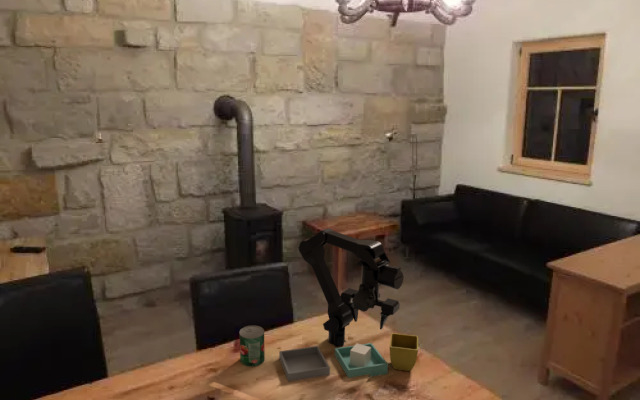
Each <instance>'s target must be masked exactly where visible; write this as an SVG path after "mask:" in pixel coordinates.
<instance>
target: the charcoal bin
mask: <svg viewBox="0 0 640 400" xmlns="http://www.w3.org/2000/svg"><path fill="white" fill-rule="evenodd" d="M278 354H279V355H278V356H279V357H278V358H279V361H280V363H281V366H282V369H283V371H284V374H285V376H286V379H287V381H288V382H292V381H293V382H294V381H299V380H305V379H306V380H307V379H313V378H318V377H319V378H320V377H323V376H330V375H331V373H330V372H331V371H330V370H331V366H330V365H329V364H328V361H327V360H326V357H324V354H323V353H322V351H321V349H320V347H319V345H314V346H307V347H299V348H293V349H285V350H279V352H278Z"/></svg>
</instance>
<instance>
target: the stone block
mask: <svg viewBox="0 0 640 400" xmlns="http://www.w3.org/2000/svg"><path fill="white" fill-rule="evenodd" d="M353 346H354V345H353ZM370 360H371V347H368V346H365V345H361V343H357V342H356V343H355V346H354V347H353V348H352V349H351V350H350V365H353V366H356V367H364V366H367V365H368V364H369V363H370Z"/></svg>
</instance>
